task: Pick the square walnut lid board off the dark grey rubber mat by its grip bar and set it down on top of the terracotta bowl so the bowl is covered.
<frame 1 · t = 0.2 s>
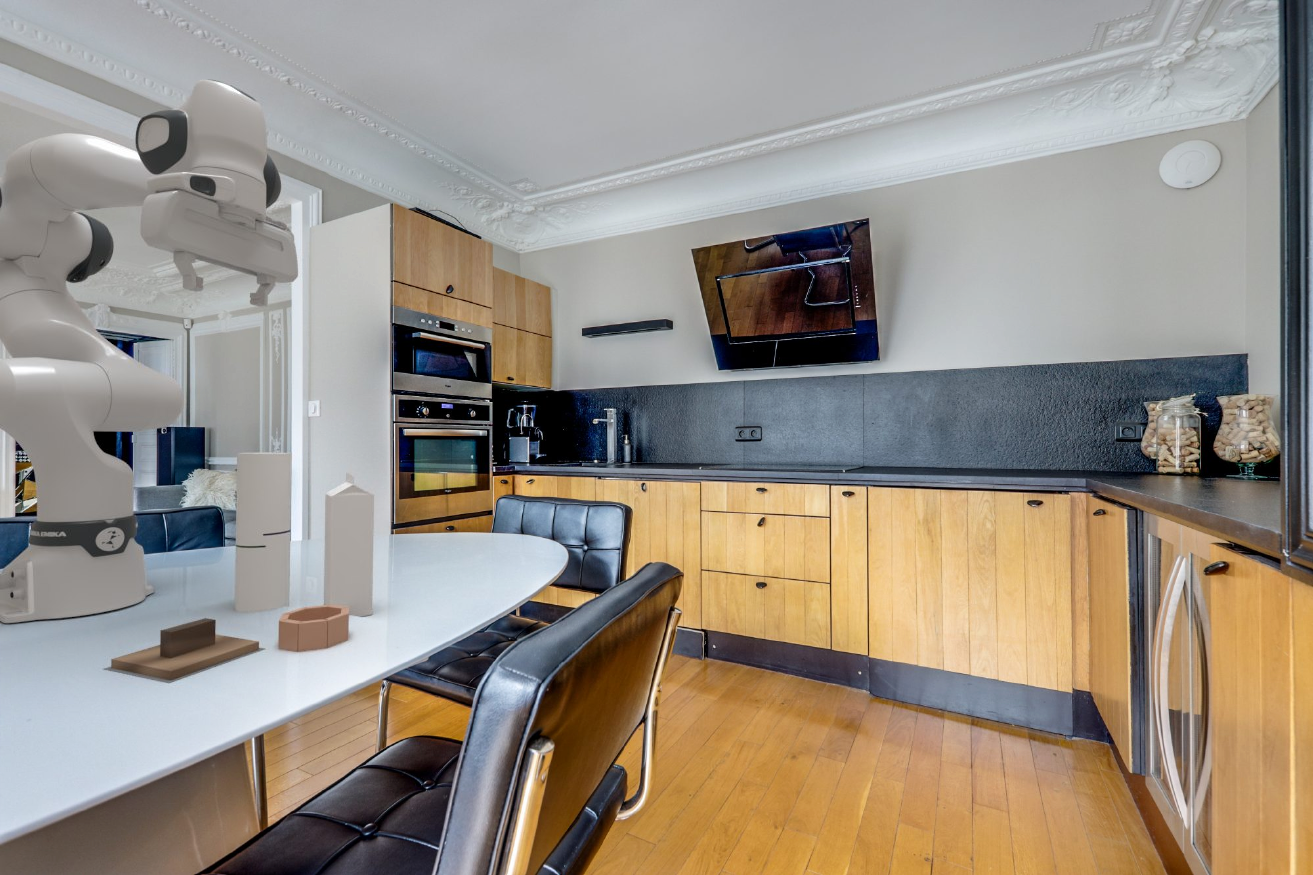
hand: (227, 298, 84), 47 cm above the table, tool pointing down, fingers open, 8 cm apart
mat: (188, 666, 70), on the table
milk: (347, 614, 92), on the table
cylindrical container: (262, 612, 92), on the table
bowl: (314, 648, 77), on the table
lid: (188, 658, 70), point 1 cm above the table, touching mat
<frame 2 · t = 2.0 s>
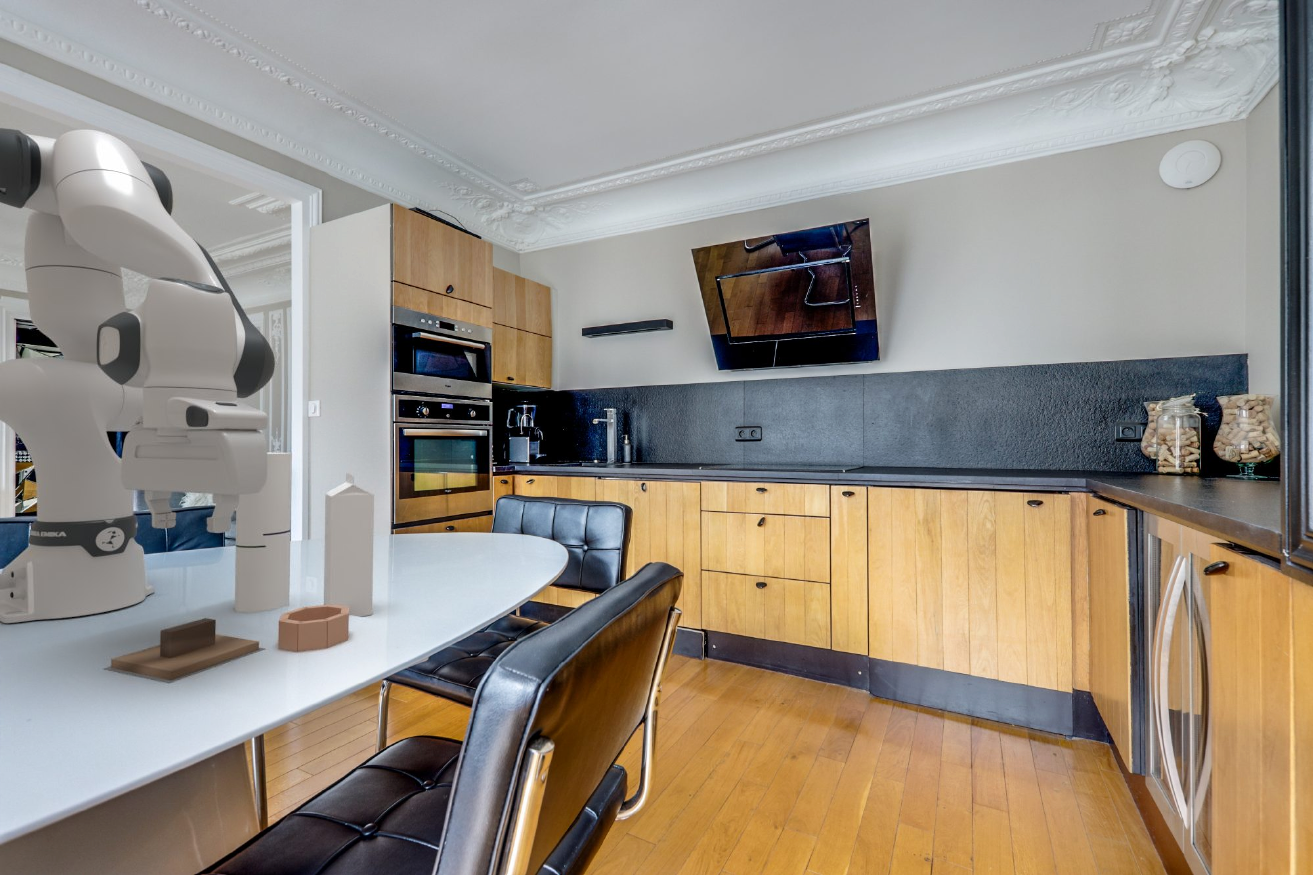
hand: (190, 529, 70), 16 cm above the table, tool pointing down, fingers open, 8 cm apart
nothing on the table moved.
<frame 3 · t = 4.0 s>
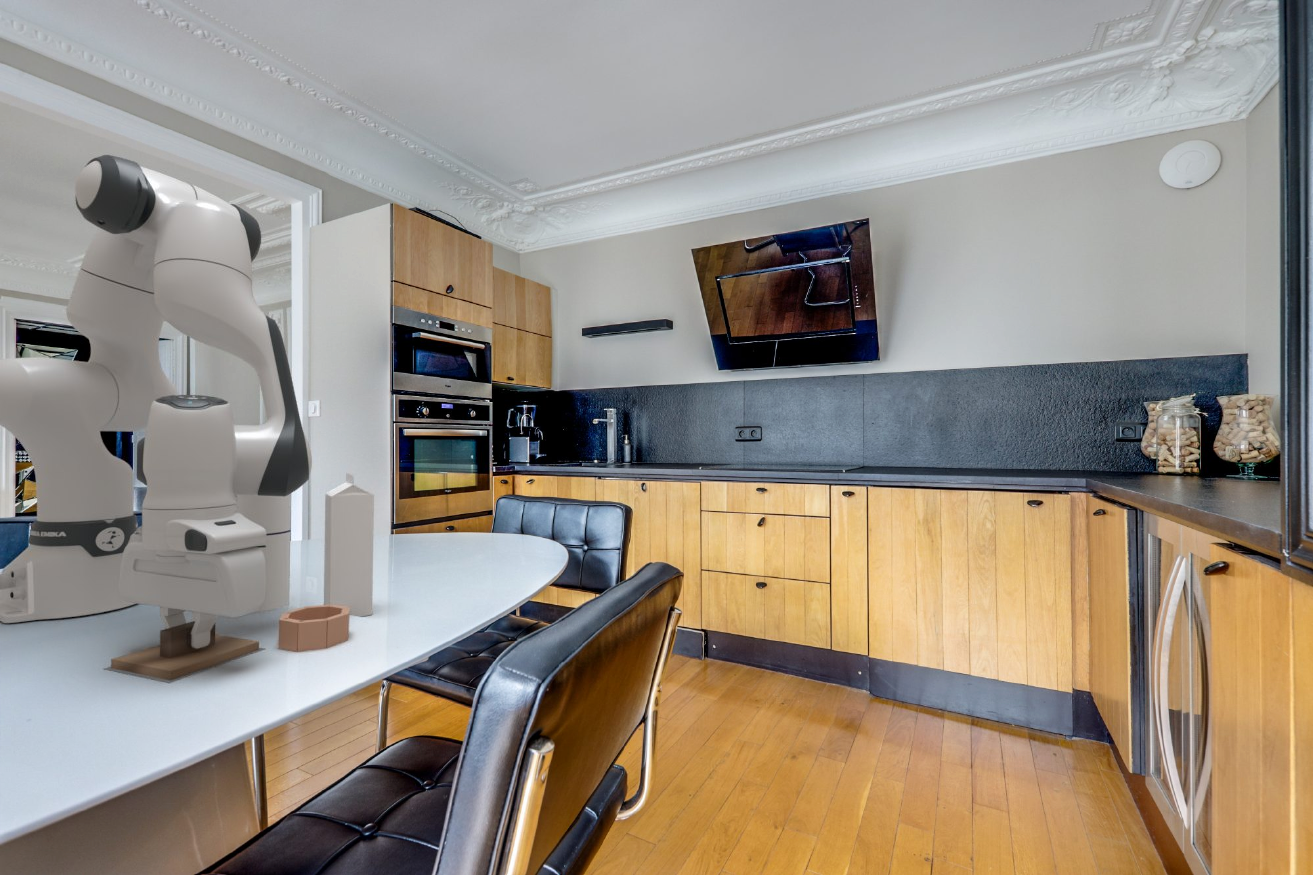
hand: (188, 644, 70), 3 cm above the table, tool pointing down, fingers closed on lid, 2 cm apart
lid: (188, 658, 70), point 1 cm above the table, touching gripper, mat
everything else where it was.
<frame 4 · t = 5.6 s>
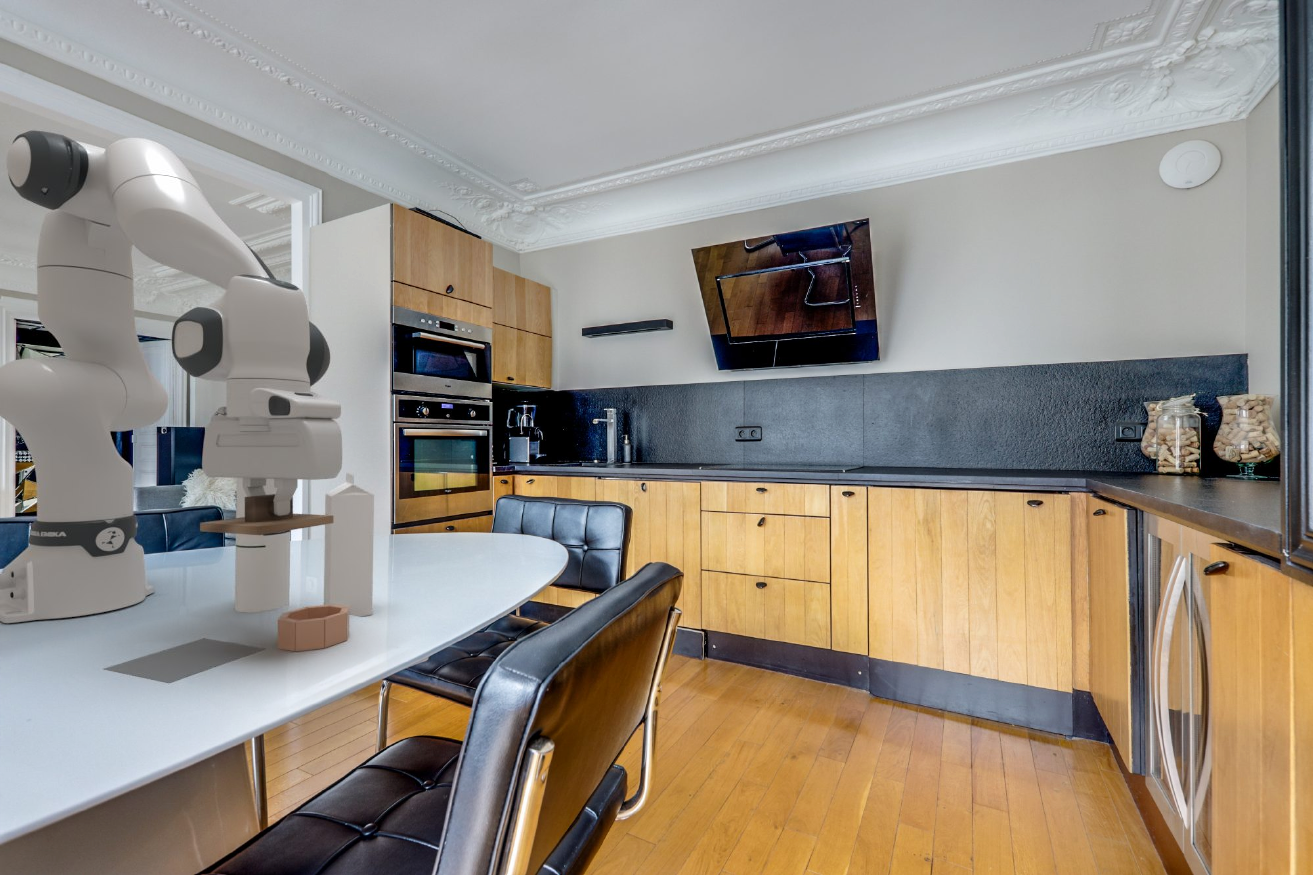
hand: (270, 514, 74), 18 cm above the table, tool pointing down, fingers closed on lid
lid: (269, 526, 74), point 16 cm above the table, touching gripper
everything else where it was.
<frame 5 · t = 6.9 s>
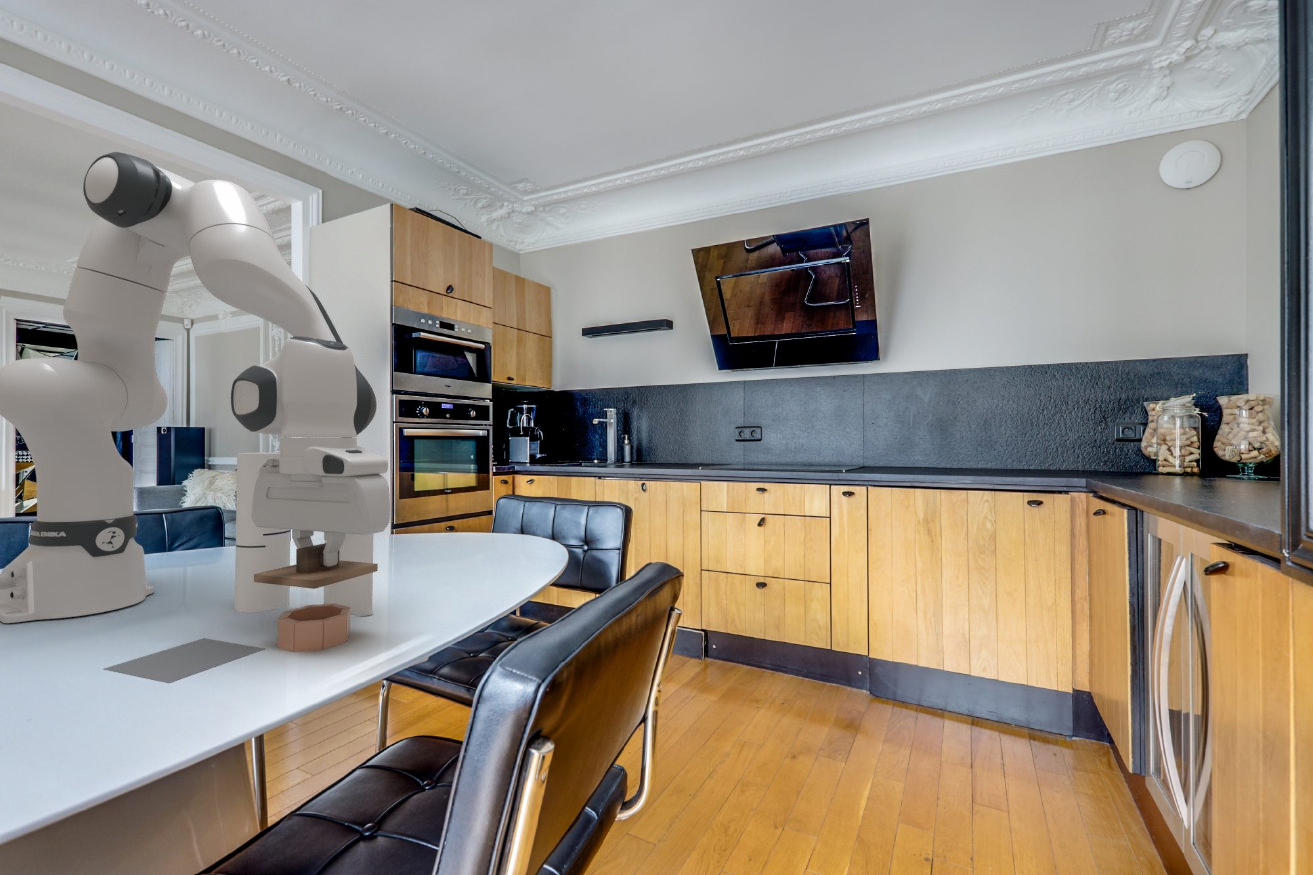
hand: (318, 564, 77), 11 cm above the table, tool pointing down, fingers closed on lid
lid: (318, 576, 77), point 9 cm above the table, touching gripper
everything else where it was.
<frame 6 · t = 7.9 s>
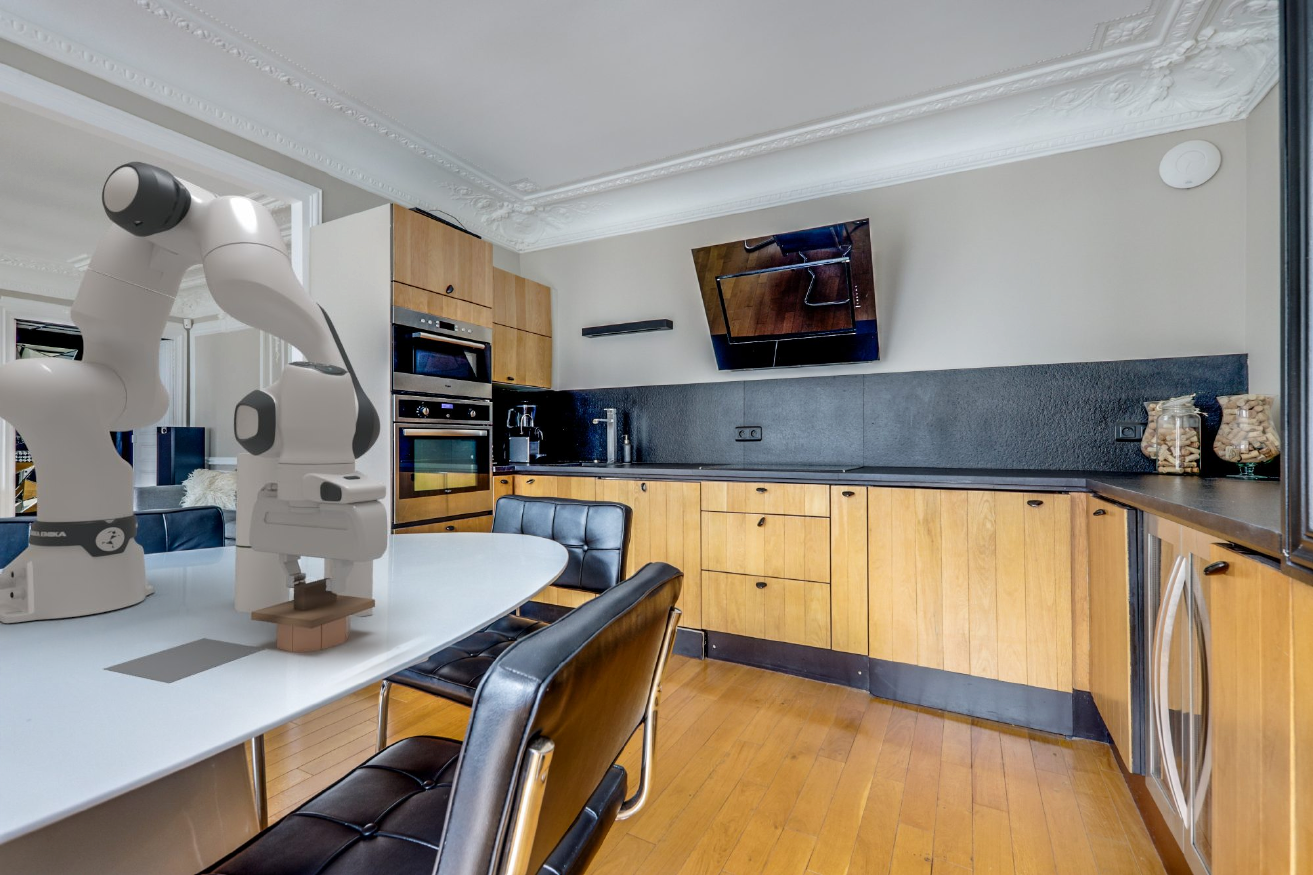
hand: (315, 589, 77), 8 cm above the table, tool pointing down, fingers open, 5 cm apart
bowl: (314, 648, 77), on the table, touching lid
lid: (315, 612, 77), point 4 cm above the table, touching bowl
everything else where it was.
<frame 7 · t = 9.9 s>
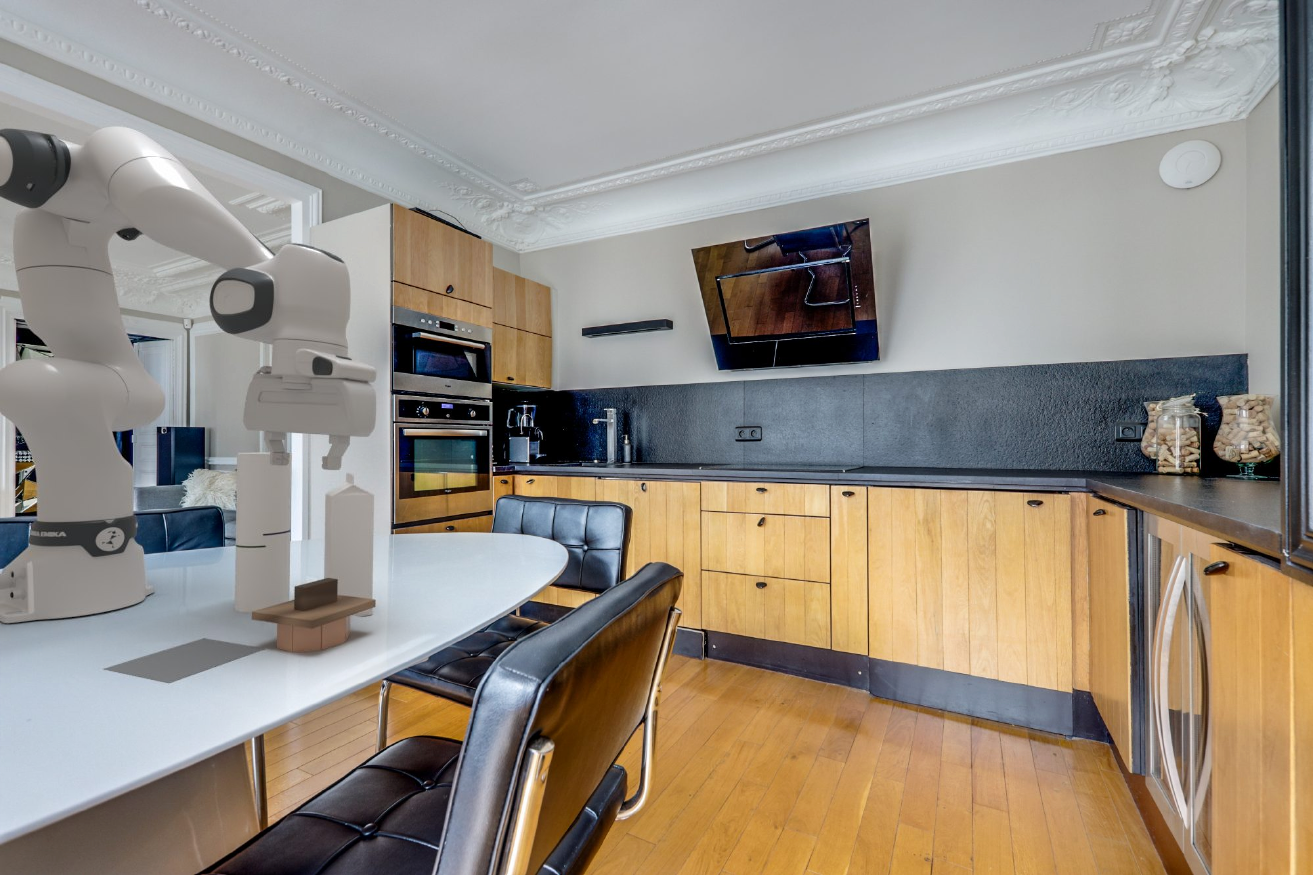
hand: (304, 467, 80), 24 cm above the table, tool pointing down, fingers open, 8 cm apart
nothing on the table moved.
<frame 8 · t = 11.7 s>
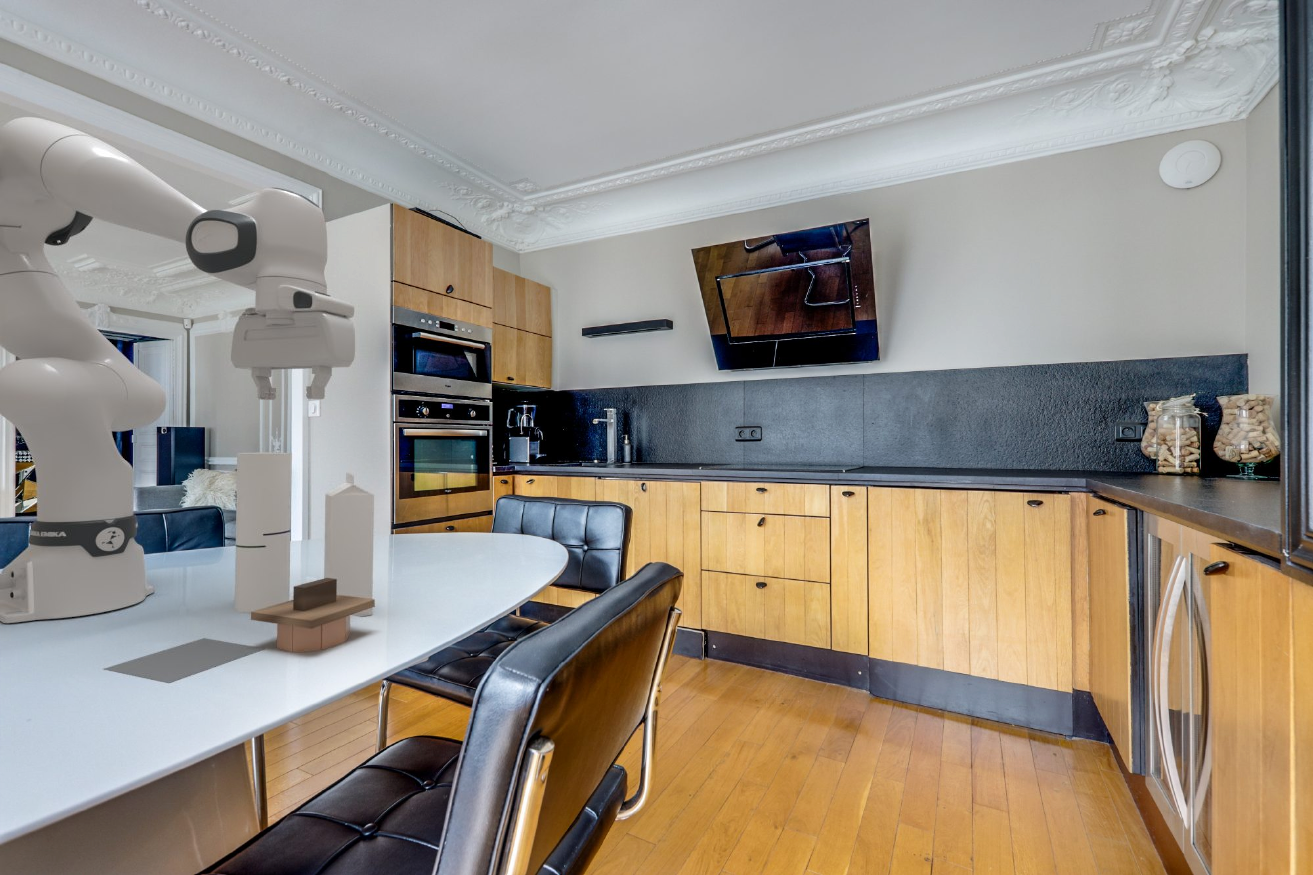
hand: (290, 399, 85), 33 cm above the table, tool pointing down, fingers open, 8 cm apart
nothing on the table moved.
at the end: lid 0.3 cm off-centre on the bowl, point 4.6 cm above the bowl's base; lid tilted 0°; the gripper is holding nothing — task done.
